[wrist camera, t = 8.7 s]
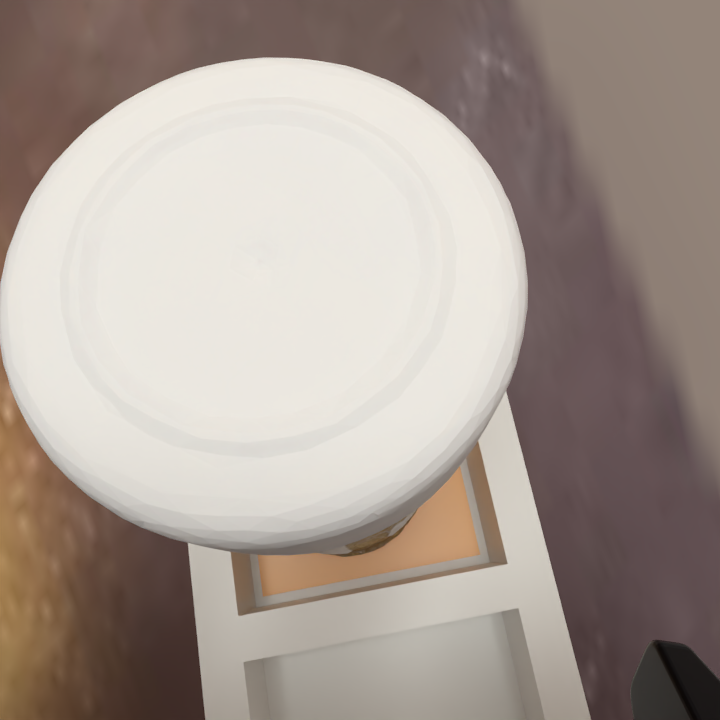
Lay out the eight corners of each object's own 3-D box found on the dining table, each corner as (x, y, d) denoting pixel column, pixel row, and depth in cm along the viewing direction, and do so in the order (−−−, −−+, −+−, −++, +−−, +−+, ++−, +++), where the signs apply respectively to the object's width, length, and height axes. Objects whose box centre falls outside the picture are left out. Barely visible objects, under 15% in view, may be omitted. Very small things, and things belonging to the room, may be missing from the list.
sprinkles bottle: (455, 498, 18) (664, 336, 5) (316, 591, 17) (127, 692, 4) (366, 367, 19) (344, -43, 6) (233, 449, 18) (-110, 187, 5)
